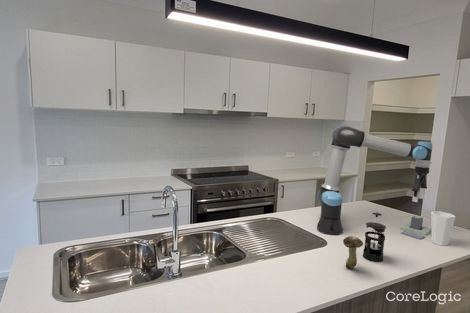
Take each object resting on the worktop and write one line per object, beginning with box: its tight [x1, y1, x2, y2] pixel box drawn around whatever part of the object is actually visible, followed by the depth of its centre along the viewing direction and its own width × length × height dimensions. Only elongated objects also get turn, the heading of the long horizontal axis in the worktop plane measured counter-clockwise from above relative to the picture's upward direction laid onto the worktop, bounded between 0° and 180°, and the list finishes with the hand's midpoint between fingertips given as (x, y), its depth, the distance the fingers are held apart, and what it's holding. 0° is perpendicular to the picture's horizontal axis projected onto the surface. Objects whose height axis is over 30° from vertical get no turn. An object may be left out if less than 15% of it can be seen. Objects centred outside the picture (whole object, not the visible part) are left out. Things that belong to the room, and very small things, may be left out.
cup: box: [430, 210, 456, 247], centre depth 163 cm, size 11×10×17 cm
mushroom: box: [342, 235, 364, 270], centre depth 132 cm, size 9×9×15 cm
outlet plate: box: [400, 221, 432, 237], centre depth 184 cm, size 14×14×2 cm
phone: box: [400, 230, 426, 241], centre depth 175 cm, size 11×6×1 cm, turn 36°
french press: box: [362, 212, 387, 263], centre depth 143 cm, size 12×9×23 cm
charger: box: [410, 215, 424, 230], centre depth 184 cm, size 5×5×8 cm
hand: (418, 199), depth 182 cm, fingers open, 13 cm apart
